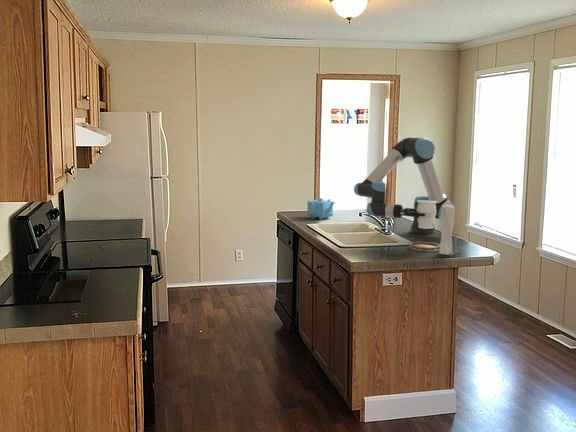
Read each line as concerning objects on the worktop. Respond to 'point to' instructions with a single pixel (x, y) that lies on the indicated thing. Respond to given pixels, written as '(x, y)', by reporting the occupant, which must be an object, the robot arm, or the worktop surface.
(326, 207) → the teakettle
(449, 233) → the skyscraper
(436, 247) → the coaster
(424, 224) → the jar
